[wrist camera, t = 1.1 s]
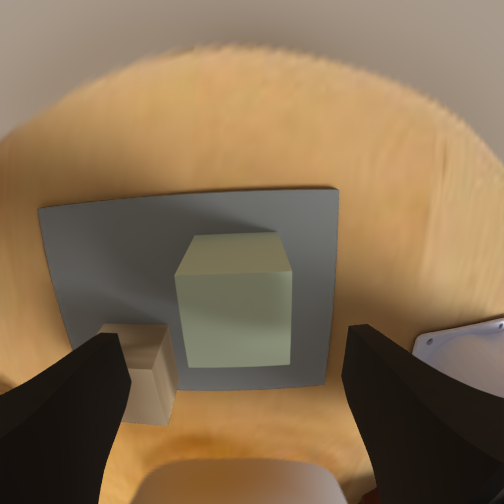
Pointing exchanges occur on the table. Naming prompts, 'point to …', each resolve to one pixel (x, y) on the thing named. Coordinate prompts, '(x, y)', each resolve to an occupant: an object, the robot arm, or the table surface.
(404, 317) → the table surface
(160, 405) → the beech cube
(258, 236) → the green block
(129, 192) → the table surface
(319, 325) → the slate mat
